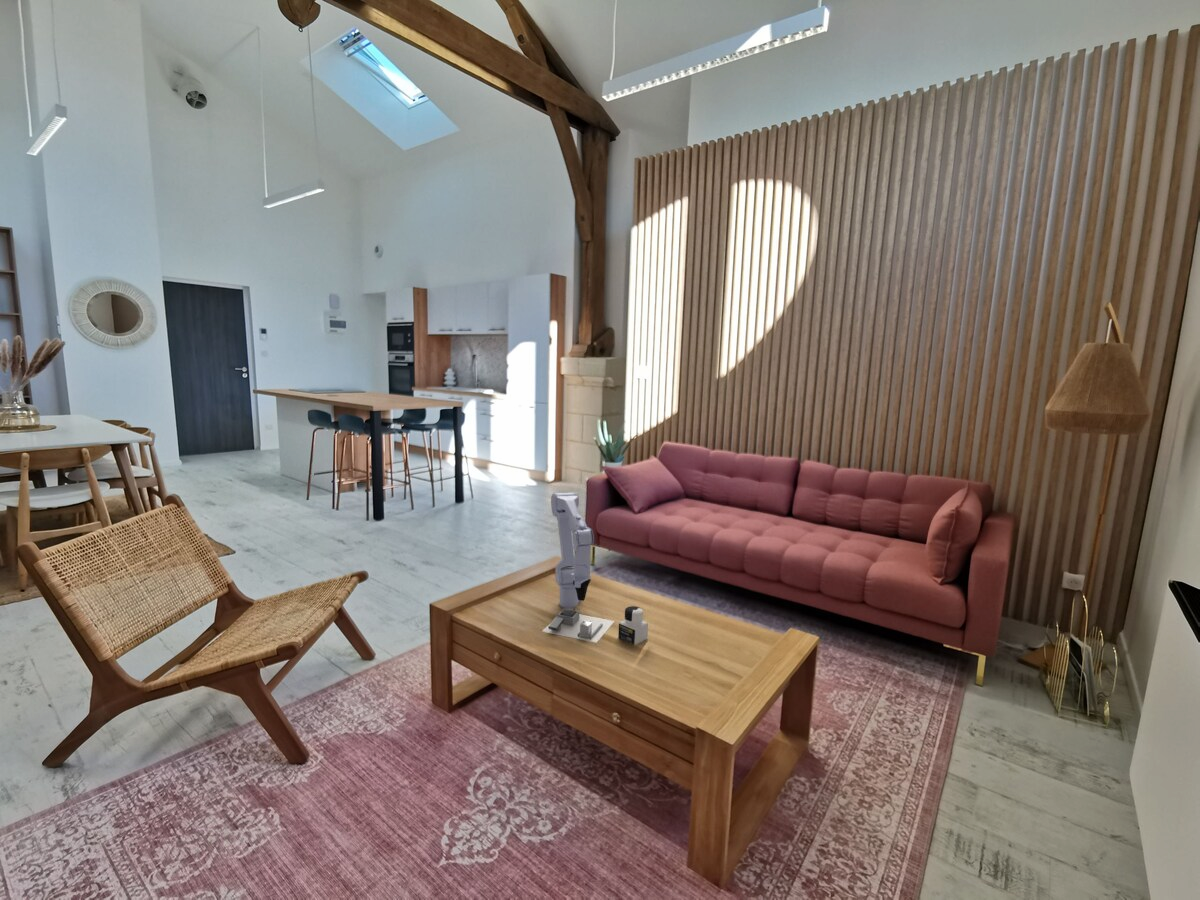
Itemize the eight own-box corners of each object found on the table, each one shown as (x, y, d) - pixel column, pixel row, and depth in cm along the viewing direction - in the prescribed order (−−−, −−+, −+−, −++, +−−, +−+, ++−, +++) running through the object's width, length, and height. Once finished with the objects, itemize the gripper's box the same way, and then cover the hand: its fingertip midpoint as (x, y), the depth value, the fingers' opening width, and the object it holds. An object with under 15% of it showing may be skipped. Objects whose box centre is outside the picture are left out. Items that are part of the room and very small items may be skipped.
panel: (563, 615, 217) (563, 603, 216) (614, 624, 210) (614, 613, 209) (541, 635, 200) (541, 623, 199) (596, 646, 193) (596, 634, 192)
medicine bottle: (617, 642, 197) (618, 608, 195) (631, 635, 202) (632, 602, 200) (634, 649, 192) (635, 614, 190) (647, 642, 197) (649, 608, 195)
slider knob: (583, 631, 199) (583, 620, 199) (591, 633, 198) (591, 622, 198) (579, 635, 196) (580, 624, 196) (588, 637, 195) (588, 626, 195)
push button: (565, 616, 211) (565, 606, 210) (575, 618, 209) (576, 608, 209) (560, 621, 207) (561, 610, 207) (571, 623, 206) (571, 612, 205)
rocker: (556, 619, 204) (555, 616, 204) (563, 620, 203) (563, 618, 203) (548, 628, 199) (548, 626, 199) (556, 630, 198) (556, 628, 198)
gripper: (576, 555, 213) (575, 591, 215) (566, 568, 199) (565, 606, 201) (595, 557, 212) (594, 593, 214) (586, 570, 198) (585, 608, 200)
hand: (581, 599), depth 208 cm, fingers closed
